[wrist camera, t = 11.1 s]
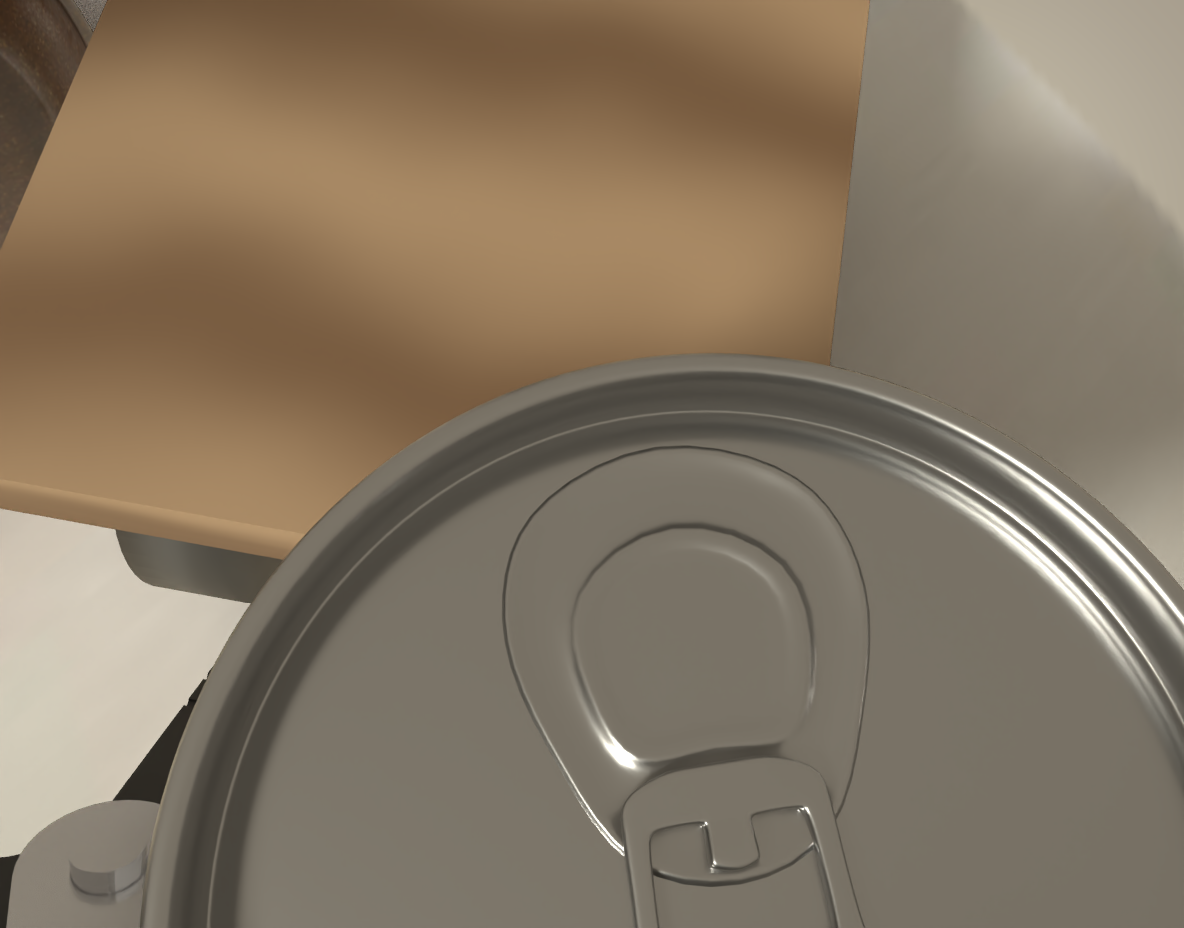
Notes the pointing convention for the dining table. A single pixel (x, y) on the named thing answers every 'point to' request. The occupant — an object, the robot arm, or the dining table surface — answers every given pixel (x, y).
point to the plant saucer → (33, 86)
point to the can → (693, 679)
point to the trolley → (394, 240)
